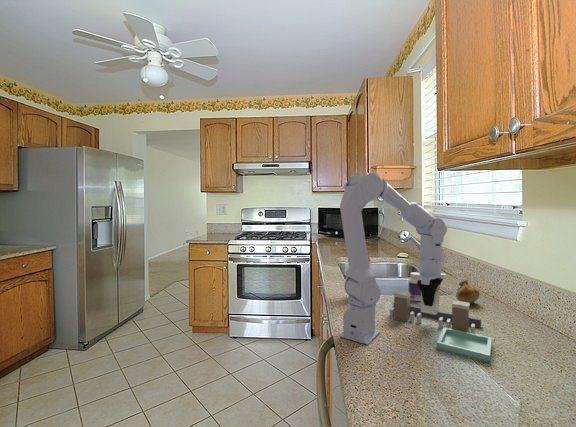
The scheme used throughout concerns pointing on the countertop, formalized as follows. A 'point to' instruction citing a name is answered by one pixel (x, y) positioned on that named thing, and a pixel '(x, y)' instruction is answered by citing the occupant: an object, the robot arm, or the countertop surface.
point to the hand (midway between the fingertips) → (429, 303)
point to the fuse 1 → (402, 306)
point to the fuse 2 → (460, 316)
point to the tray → (465, 344)
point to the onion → (467, 292)
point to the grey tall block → (434, 307)
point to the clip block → (439, 317)
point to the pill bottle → (414, 287)
